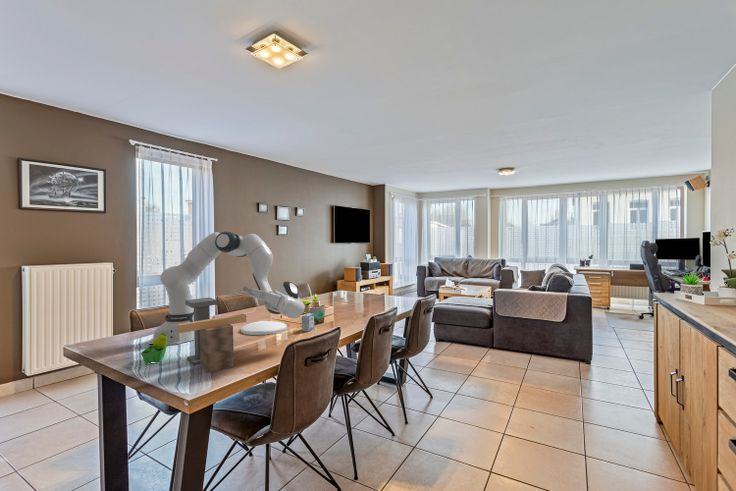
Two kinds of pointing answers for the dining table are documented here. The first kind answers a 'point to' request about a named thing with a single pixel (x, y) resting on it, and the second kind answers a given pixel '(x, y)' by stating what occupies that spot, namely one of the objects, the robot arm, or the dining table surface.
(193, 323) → the bar
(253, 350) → the dining table surface
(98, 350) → the dining table surface
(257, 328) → the decorative plate
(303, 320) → the medicine box
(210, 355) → the pedestal
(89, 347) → the dining table surface
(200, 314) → the stand
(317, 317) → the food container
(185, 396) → the dining table surface
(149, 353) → the fruit basket
